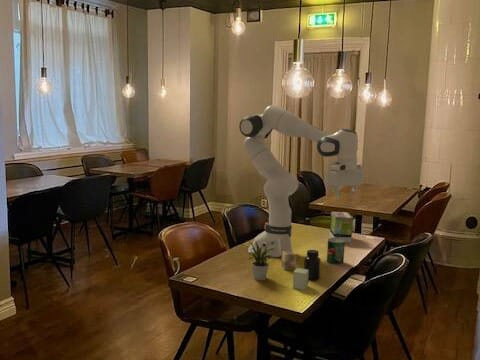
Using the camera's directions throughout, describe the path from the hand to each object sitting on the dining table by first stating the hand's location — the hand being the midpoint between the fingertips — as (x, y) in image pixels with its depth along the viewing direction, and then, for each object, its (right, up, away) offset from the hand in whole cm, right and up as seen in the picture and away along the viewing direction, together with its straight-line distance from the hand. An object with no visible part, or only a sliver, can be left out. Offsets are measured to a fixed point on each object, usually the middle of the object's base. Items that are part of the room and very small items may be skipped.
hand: (345, 195), depth 218 cm
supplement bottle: (-17, -35, -12) cm, 41 cm away
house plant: (-41, -35, -14) cm, 55 cm away
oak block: (-26, -33, 0) cm, 42 cm away
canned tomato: (-3, -32, +10) cm, 34 cm away
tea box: (+8, -27, +51) cm, 58 cm away
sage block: (-23, -37, -23) cm, 49 cm away
